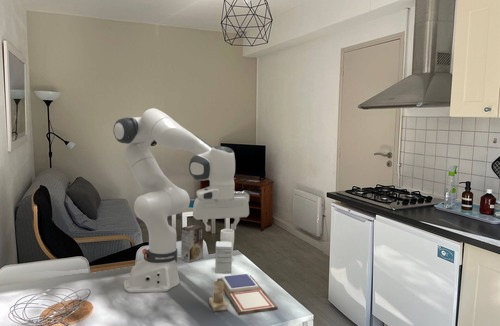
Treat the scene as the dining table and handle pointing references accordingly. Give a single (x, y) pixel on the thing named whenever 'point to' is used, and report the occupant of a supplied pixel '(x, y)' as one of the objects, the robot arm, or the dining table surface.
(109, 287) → the dining table surface
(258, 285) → the stamping board
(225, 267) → the supplement box
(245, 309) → the sheet
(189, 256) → the coffee box
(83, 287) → the dining table surface
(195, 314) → the dining table surface
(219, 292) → the wooden stamp
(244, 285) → the ink pad
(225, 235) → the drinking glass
